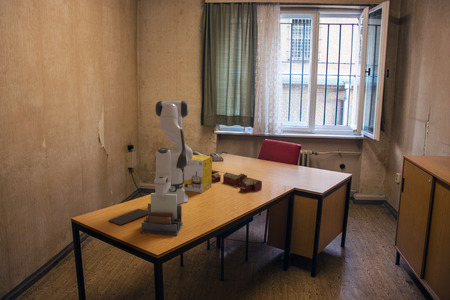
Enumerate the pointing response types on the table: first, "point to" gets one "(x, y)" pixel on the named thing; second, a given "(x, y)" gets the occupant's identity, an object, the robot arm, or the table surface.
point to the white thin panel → (164, 204)
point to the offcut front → (160, 220)
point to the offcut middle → (163, 215)
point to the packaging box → (198, 174)
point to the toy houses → (239, 181)
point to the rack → (163, 228)
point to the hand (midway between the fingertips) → (163, 199)
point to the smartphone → (129, 217)
